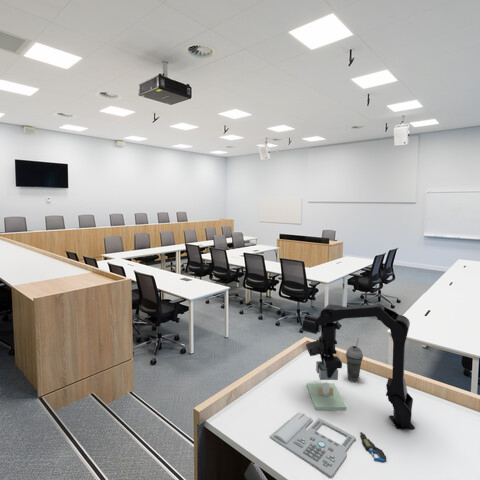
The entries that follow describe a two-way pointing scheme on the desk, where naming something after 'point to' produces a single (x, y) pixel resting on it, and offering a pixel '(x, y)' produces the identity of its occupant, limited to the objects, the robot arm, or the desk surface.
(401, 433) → the desk surface
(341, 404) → the keyed post stand
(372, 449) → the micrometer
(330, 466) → the office telephone
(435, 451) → the desk surface
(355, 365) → the beverage cup
